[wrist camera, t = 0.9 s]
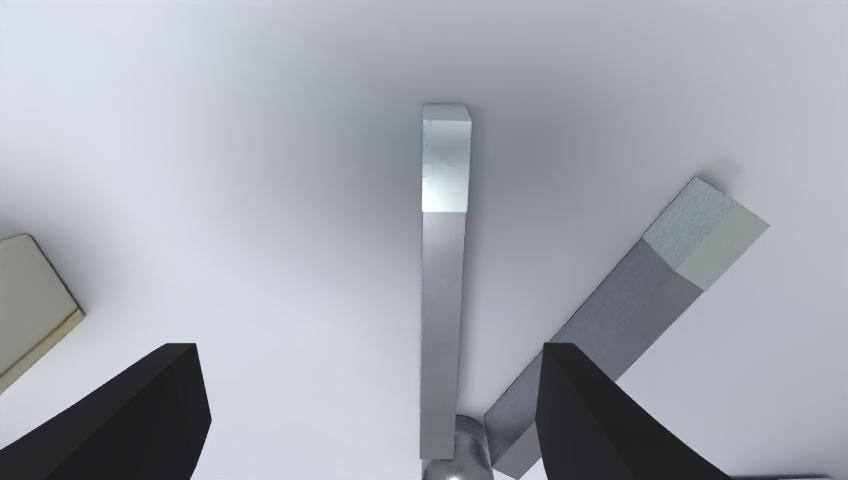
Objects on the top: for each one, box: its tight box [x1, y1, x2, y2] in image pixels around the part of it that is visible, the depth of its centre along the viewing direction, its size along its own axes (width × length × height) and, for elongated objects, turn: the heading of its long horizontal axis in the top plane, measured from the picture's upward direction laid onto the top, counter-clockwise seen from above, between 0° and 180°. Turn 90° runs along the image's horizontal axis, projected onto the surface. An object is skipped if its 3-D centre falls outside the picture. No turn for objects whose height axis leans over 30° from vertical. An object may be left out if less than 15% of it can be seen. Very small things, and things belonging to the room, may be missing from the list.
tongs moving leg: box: [420, 104, 472, 459], centre depth 20 cm, size 14×2×3 cm, turn 179°
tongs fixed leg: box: [422, 176, 770, 480], centre depth 21 cm, size 18×3×3 cm, turn 147°
